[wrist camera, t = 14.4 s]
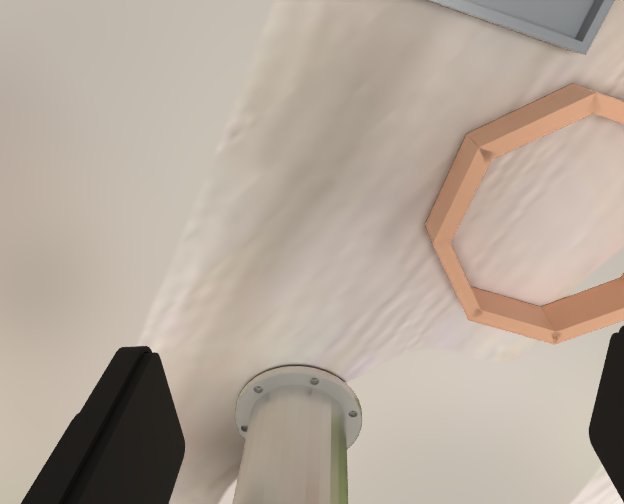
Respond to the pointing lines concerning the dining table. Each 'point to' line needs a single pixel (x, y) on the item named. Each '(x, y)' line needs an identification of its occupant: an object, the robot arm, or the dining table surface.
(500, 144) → the collar
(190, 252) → the dining table surface
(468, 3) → the tray
